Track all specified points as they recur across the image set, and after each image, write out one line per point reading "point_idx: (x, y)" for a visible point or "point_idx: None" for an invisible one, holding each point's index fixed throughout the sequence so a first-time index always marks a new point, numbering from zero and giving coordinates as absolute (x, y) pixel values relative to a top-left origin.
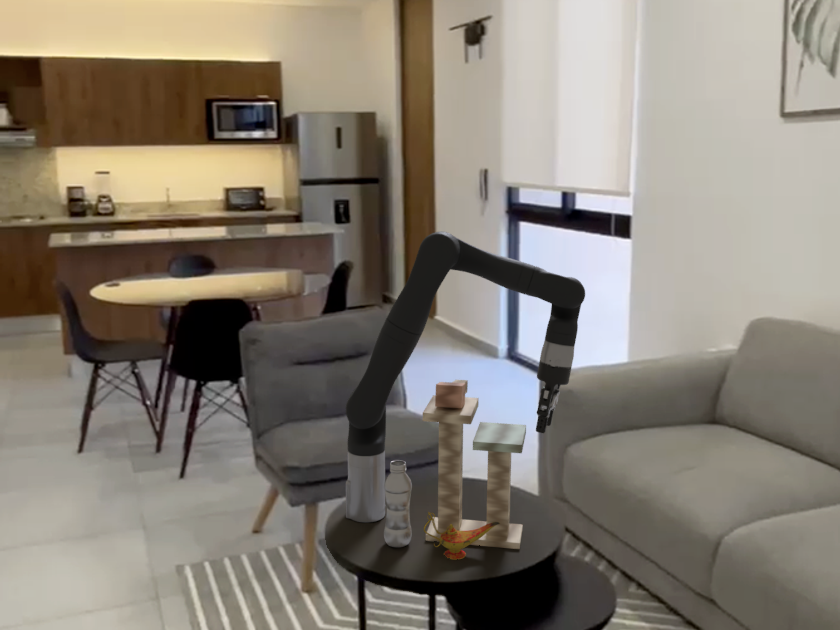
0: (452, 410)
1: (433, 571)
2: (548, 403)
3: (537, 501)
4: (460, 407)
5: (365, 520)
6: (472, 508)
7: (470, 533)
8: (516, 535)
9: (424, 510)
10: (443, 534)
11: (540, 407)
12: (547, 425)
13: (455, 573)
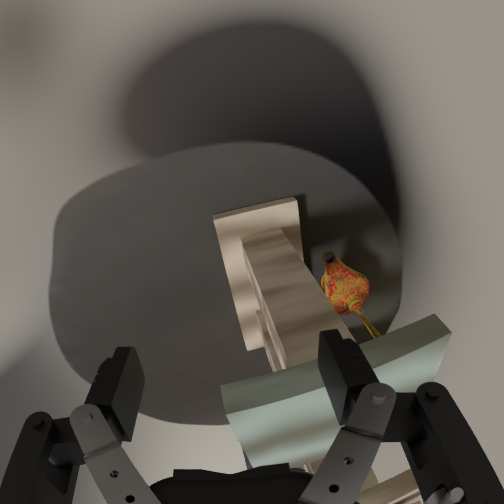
0: (400, 502)
1: (384, 281)
2: (476, 448)
3: (69, 233)
4: (419, 502)
5: None
6: (164, 320)
7: (342, 281)
8: (267, 215)
9: (209, 367)
10: (349, 311)
11: (423, 452)
12: (137, 355)
13: (385, 256)
